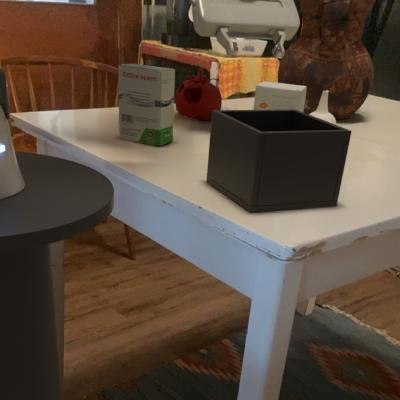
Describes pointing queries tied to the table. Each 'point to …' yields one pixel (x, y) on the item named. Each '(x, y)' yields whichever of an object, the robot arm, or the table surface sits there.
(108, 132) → the table surface
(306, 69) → the brown curved lobed piece
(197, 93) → the pomegranate
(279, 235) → the table surface
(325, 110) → the garlic bulb
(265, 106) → the small box
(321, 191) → the trash bin
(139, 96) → the ink box
